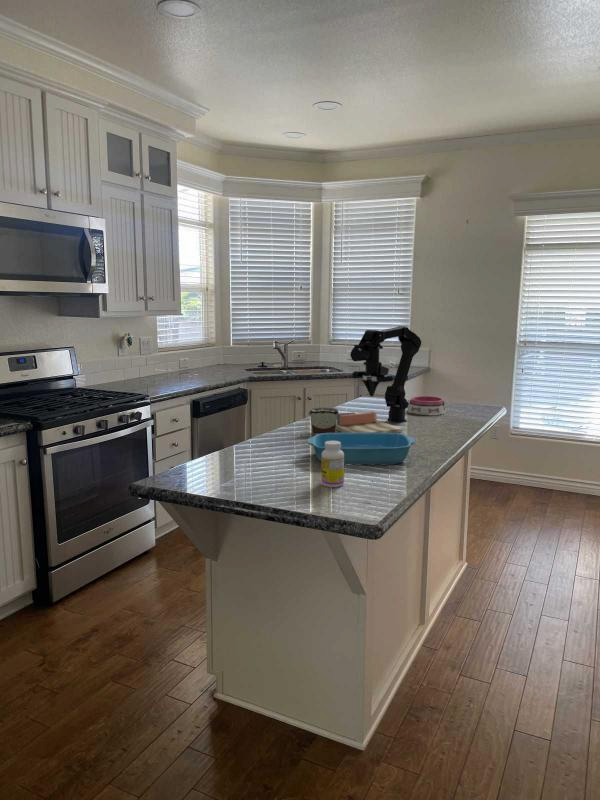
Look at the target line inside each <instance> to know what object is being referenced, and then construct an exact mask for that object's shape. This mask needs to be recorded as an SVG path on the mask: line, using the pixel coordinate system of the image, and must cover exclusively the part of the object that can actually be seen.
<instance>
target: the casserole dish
mask: <svg viewBox="0 0 600 800" xmlns="http://www.w3.org/2000/svg"><path fill="white" fill-rule="evenodd" d="M326 441H339V442H341V447H340V450H342V451H343V453H344V464H393V465H398V464H397V463H399V464H402V462H404V461H406V459H407V457H408V455H409V451H410V448H411V446H412V445H414V444H416V439H415V438H414V437H411V436H408V435H406V434H403V433H343V432H335V433H322V434H314V436H312V437H309V438H308V439H307V440H306V443H307V445H309V446H313V448H314V451H315V455H316V457H317V459H318V460H319V461H320V462H321V460H322V458H321V456H322V452H323V451H324V450H326V448H325V442H326Z"/></svg>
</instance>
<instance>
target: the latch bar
mask: <svg viewBox="0 0 600 800" xmlns="http://www.w3.org/2000/svg"><path fill="white" fill-rule="evenodd" d="M376 420H377V411H368V412H360V413H356V414H347V415H340V417H339V425H342V426H343V425H353V424H362V423H372V422H376Z"/></svg>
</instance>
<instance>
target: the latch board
mask: <svg viewBox="0 0 600 800" xmlns="http://www.w3.org/2000/svg"><path fill="white" fill-rule="evenodd" d="M347 414H357V413H356V412H344V413H339V415H338V414H337V423H336V430H337V431H338V432H340V433H399V432H400V433H403V428H402V427H399V426H396V425H392V424H390V423H386V422H384V421H381V420H378V419H376V422H372V423H362V424H353V425H343V426H342V425H339V417H340V415H347ZM400 433H399V434H400Z"/></svg>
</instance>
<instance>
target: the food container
mask: <svg viewBox="0 0 600 800" xmlns="http://www.w3.org/2000/svg"><path fill="white" fill-rule="evenodd" d="M337 414H338V415H339V414H340V413H339V410H338V409H337V408H335V407H334V408H333V407H314V408H310V409H309V411H308V415H309V416H310V417H309V418H310V425H311V433H312V435H317V434H322V433H336V424H337Z"/></svg>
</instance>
